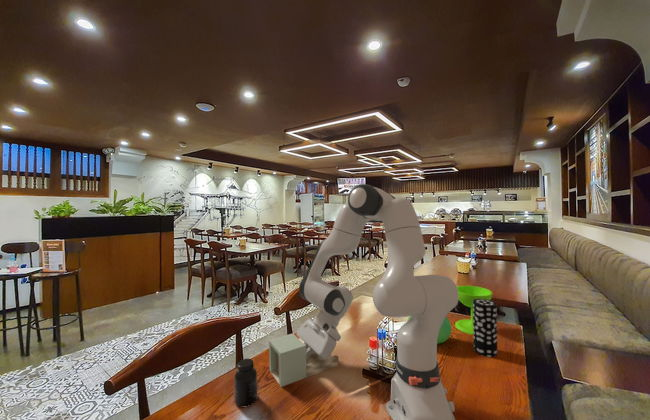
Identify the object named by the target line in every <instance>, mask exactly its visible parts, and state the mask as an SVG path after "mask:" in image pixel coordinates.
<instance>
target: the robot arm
mask: <svg viewBox="0 0 650 420" xmlns="http://www.w3.org/2000/svg"><path fill="white" fill-rule="evenodd" d="M338 211H339V212H338V213H337V216H336V218H335V220H334V223H333V227H332V229H331V231H330V233H329V235H328V236H327V237H326V238H324V239H323V240H322V241H321V242H320V244H319V246H318V247H317V250H316V252H315V254H314V256H313V258H312V260H311V263H310V265H309V266H308V269H307V271H306V273H305V274H304V276H303V278H302V279H301V281H300V283H299V286H298V293H299V296H300V298H302V299H303V300H305V301H306V302H309V303H311V305H314V306H315V307H316V308H318V309H320V310H319V311H318V313H317V314H316V315H315V317H309V318H308V319H307V320H305V321H304V322H303V324H302V325H300V327H299V328H298V329H297V331H296V335H295V336H296V337H297V338H298V339H299V340H301V341H302V342H303V343H304V344H305V345H306V359H307V357H308V356H310V355H311V354H313V352H314V351H315V352H316V353H317V354H318V355H319V356H320V357H321V358H323V359H324V360H326V359H327V358H329V357H331V355H332V353H333V352H334V350H335V349H336V347H337V342H339V341H340V340H341V338H342V337H341V334H340V333H339V331H338V329H337V327H338V326H339V324H340V321H341V320H342V318H344V316H345V315H346V313H347V312H348V310H349V308H350V306H351V305H352V303H353V300H354V295H353V293H352V292H351V290H350V289H349V288H347V287H346V286H344V285H341V284H340V285H339V286H337V285H333V284H332V283H328V282H327V281H325V280H323V278H322V274H323V272H324V269H325V268H326V265H327V263H328V261H329V259H330V258H331V257H333V256H339V255H341V256H343V255H349V254H351V253H353V252H355V251H356V250H357V248H358V246H359V244H360V242H361V239H362V234H363V231H364V228H365V226H366V224H367V223H369V222H372V223H374V224H375V223H382V225H383V229H384V235H385V239H386V240H385V241H386V248H387V256H388V257H387V258H388V259H387V266H386V270H385V272H384V274H383V276H382V278H381V279H379V281H377V283H376V284H375V286H374V288H373V291H372V303H373V306H374V307H375V309H376V310H377V312H378V313H379V314H380V315H382V316H384V317H387V318H388V317H391V318H406V317H409V316H411V317H410V319H409V320H408V319H407V321H406V322H405V323H404V324H402V325H401V326H400V327H399V329H398V331H397V334H396V351H397V355H396V357H395V371H396V372H395V373H394V375H393V377H392V378H391V381H390V382H391V383H390V384H391V385H390V386H391V387H390V400H388V401H387V402H386V404H385V410H386V412H387V413H388V415H389V417H390V416H391V417H390V418H391V419H393V420H456V418H455V416H454V412H455V404H454V401H448V399H447V395H448V389H447V388H446V387H444V385H443V383H442V378H441V374H440V367H439V362H438V357H437V356H438V352H437V351H438V344H437V339H438V334H439V330H440V328H441V325H442V323H443V321H444V319H445V318H446V317H447V316H448V315H449V313H451V311H452V310H453V309H454V308H456V307H457V306H458V303H459V292H458V289H457V287H458V286H457V285H456V283H455V282H454V281H453V279H451V277H449V276H445V275H437V274H423V275H414V269H415V268H414V267H415V265H416V264H417V263H419V262H420V261H422V259H423V258H424V256H425V255H426V247H425V246H426V245H425V241H424V237H423V233H422V229H421V225H420V221H419V219H418V215H417V212H416V211H415V208H414V205H413V204H412V202H411V201H410V200H408V199H406V198H403V197H400V198H398V197H397V198H396V197H394V196H393V195H392V194H390V193H388V192H386V191H384V190H383V189H381V188H378V187H375V186H373V185H371V184H366V183H361V184H360V183H359V184H357V185H355V186H354V187H352V189H350V191H349V193H348V195H347V202H346V203H344V204H342V206H341V207H340V209H339V210H338Z"/></svg>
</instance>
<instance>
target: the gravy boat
mask: <svg viewBox="0 0 650 420" xmlns="http://www.w3.org/2000/svg"><path fill="white" fill-rule="evenodd" d="M410 317H411V316H408V318H407V321H408V320H409V319H410ZM451 335H452V323H451V322H450V320H449V318H448V317H447V316H446V318H445V319H444V321H443V323H442V325H441V328H440V330H439V334H438V339H437V345H438V344H442V343H445V342H446V341H447V340H448V339H449V338H450V336H451Z"/></svg>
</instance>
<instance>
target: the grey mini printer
mask: <svg viewBox="0 0 650 420" xmlns="http://www.w3.org/2000/svg"><path fill="white" fill-rule="evenodd" d="M339 363H340V362H339V356H338V355H337V354H336V355H332V356H329V358H327V359H326V360H324V359H323V358H321V357H320V356H319V355H318V354H317V353H316V352H315V351H314V352H313V354H311V355H310V356H308V357H307V359H306V375H307V377H306V378H308V377H312V376H314V375H316V374H319V373H321V372H323V371H327V370H329V369H332V368H335V367H337V366H339ZM270 374H271V375H272V376H273V377H274V379H275V380H276V382H277V383H278V384H279V375H278V373H277V371H274V372H270ZM303 379H305V378H303ZM303 379H302V380H303ZM296 382H297V381H295V382H294V383H296ZM290 384H292V383H290ZM290 384H289V385H290ZM282 387H284V386H282ZM282 387H281V388H282Z"/></svg>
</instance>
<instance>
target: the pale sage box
mask: <svg viewBox="0 0 650 420" xmlns="http://www.w3.org/2000/svg"><path fill="white" fill-rule="evenodd" d="M268 353H269V354H268V355H269V356H268V358H269V359H268V361H269V372H270V373H271V372H274V371H277V368H276V353H277V354H278V355H279V383H278V385H279V387H280V388H282V386H283V387H285V386H287V385H290V383H291V384H294V383H296V382H298V381H301V380H303V378H304V379H306V378H308V377H307V375H306V345H305V344H304V341H302V340H301V339H300V338H299V337H298V336H297V335H295V334H294V333H289V334H285V335H282V336H279V337H275V338H271V339H269V340H268ZM295 381H296V382H295Z"/></svg>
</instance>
